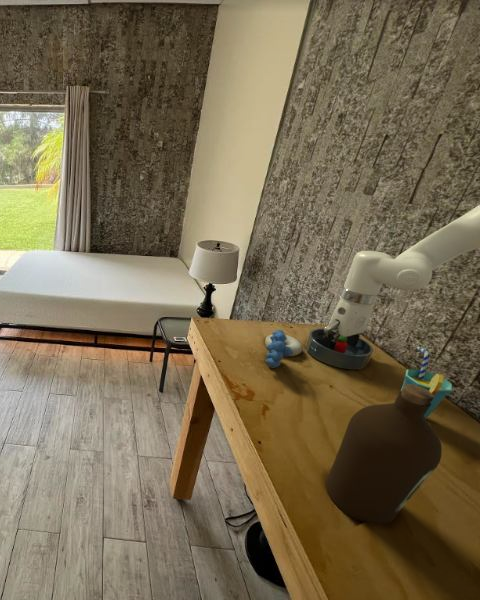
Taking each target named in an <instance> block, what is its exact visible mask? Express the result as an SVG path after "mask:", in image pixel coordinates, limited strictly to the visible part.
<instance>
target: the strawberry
mask: <svg viewBox="0 0 480 600" xmlns="http://www.w3.org/2000/svg"><path fill="white" fill-rule="evenodd" d="M334 336H335V335H334ZM347 340H348V339H347V338H346V337H343V336H342V335H341V336H340V337H339V338H338V339H337V340H336V342H337V344H336V346H335V349H334V351H337V352H341V353H345V351H346V349H347V346H348V345H347V342H346V341H347Z"/></svg>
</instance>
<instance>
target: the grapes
mask: <svg viewBox="0 0 480 600" xmlns="http://www.w3.org/2000/svg"><path fill="white" fill-rule="evenodd" d="M272 334H273V335H272ZM271 335H272V336H271V337H270V339H271V340H272V343H270V344H269V345H268V346H266V345H265V347H266V350H267V353H266V354H265V357H266V360H265V363H266V365H267V366H268V367H269V368H277V367H279V366H281V362H280V361H282V360H283V359H284V357H291V356H290V355H292V354H293V351H292V349H291V348H290V347H288V346H286V344H285V342H284V341H285V340H286V339H287V338H286V336H285V335H286V333H285V332H284V331H283V330H282V329H277V330H275V331H273V332H272V333H271Z"/></svg>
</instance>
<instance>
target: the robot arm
mask: <svg viewBox="0 0 480 600" xmlns="http://www.w3.org/2000/svg"><path fill="white" fill-rule="evenodd" d="M478 249H480V204H478V205H477V206H475V207H473V208H472V209H470V210H469V211H468V212H466V213H464V214H463V215H461V216H460V217H458V218H456V219H454V220H452V221H451V222H449V223H448V224H446V225H445V226H443V227H441V228H440V229H437V230H436V231H434V232H432V233H431V234H429V235H428V236H426V237H424V238H423V239H421V240H420V241H418V242H417V243H415V244H413V245H412V246H411V247H409V248H407V249H406V250H405V251H403V252H402V253H400V254H399V255H397V256H396V257H394V258H392V256H391V255H390V254H388V253H385V252H381V251H377V250H361V251H358V252H356V254H355V255H354V256H353V260H352V262H351V265H350V268H349V271H348V274H347V276H346V279H345V282H344V285H343V288H342V290H341V292H340V295H339V301H338V303H337V305H336V306H335V308H334V310H333V313H332V314H331V317H330V320H329V323H328V325H326V326H325V327H323V328H324V334H323V335H324V340H323V343H322V346H324V347H326V348H329V349H331V350H334V349H335V346H336V344H337V342H336V340H337V339H338V338H339V337H340V336H341V335H342V336H343V337H346V338H347V339H348V340H347V341H346V342H347V344H348V345H351V346H353V347H355V346H356V344H357V342H358V339H359V337H360V338H361V335H362V334H363V333H364V332H366V330H367V329H368V326H369V323H370V321H371V317H372V315H373V311H374V308H375V303H376V301H377V298H378V297H379V296H378V295H379V293H380V292H381V289H382V287H383V285H386V286H389V287H390V288H391V287H392V288H393V289H398V290H402V291H417V290H421V289H423V288H425V287H426V286H428V285H429V283H430V282H431V280H432V278H433V271H435V269H437V268H439V267H441V266H442V265H445V264H446V263H448V262H450V261H452V260H453V259H454V258H457V257H459V256H461V255H463V254H465V253H468V252H471V251H473V250H478ZM336 330H339V332H338V331H336ZM332 332H333V333H335V334H336V335H335V336H334V337H333V335H332V334H331V333H332Z"/></svg>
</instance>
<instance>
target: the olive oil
mask: <svg viewBox="0 0 480 600" xmlns="http://www.w3.org/2000/svg"><path fill="white" fill-rule="evenodd" d="M401 389H402V388H401ZM402 390H403V391H401V390H400V391H399V392H398V394H397V396H396V398H395V401H394V402H391V403H381V404H372V405H367V406H364V407H362V408H361V409H359V410H358V411H357V412H355V413H354V414H353V415H352V416H351V418H350V419H349V421H348V424H347V427H346V429H345V432H344V435H343V438H342V440H341V443H340V445H339V448H338V451H337V454H336V457H335V459H334V461H333V463H332V466H331V468H330V471H329V473H328V475H327V478H326V481H325V489H326V493H327V494H328V497H329V498H330V499H331V501H332V502H333V503H334V504H335V505H336V507H338V508H339V509H340V510H341V511H342V512H344V513H345V514H346V515H348V516H349V517H351V518H352V519H354V520H356V521H358V522H359V523H362V524H365V522H367V521H368V522H370V523H375V524H387V523H391V522H392V521H393V520H395V518H396V517H397V515H398V514H399V513H400V511H401V510H402V509H403V508H404V507H405V505H406V504H407V503H408V501H409V500H410V499H411V498H412V497H413V496H414V495H415V493H416V492H417V491H418V490H419V488H421V486H422V485H423V484H424V482H425V481H426V480H427V479H428V478H429V477H430V476H431V474H432V473H433V472H434V471H435V470H436V469H437V468H438V466H439V464H440V462H441V459H442V452H443V451H442V442H441V439H440V437H439V436H438V434H437V432H436V431H435V430H434V428H433V427H432V425H431V424H430V423H429V421H428V420H427V419H425V417H424V415H425V413H426V412H427V410H428V409H429V407H430V406H431V403H430V402H432V400H433V399H434V395H433V394H432V393H431V392H430V391H428V390H426V389H424V388H422V387H419V386H416V385H410V384H408V385H405V386H404V387H403V389H402Z"/></svg>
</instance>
